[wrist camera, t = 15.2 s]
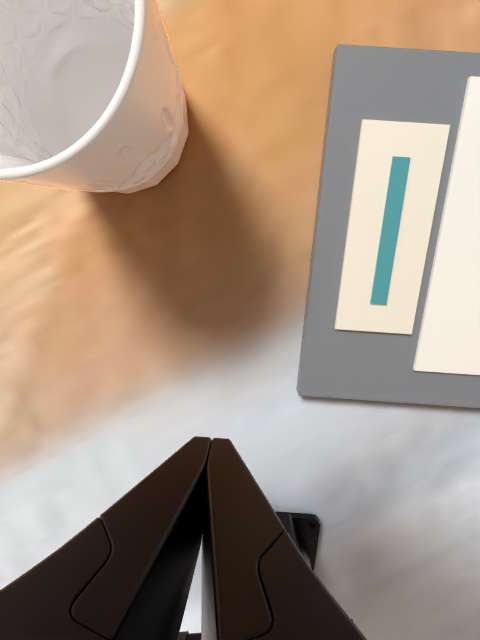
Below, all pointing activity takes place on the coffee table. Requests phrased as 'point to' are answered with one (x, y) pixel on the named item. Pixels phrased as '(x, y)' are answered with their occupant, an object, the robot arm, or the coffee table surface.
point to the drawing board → (397, 232)
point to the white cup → (88, 95)
